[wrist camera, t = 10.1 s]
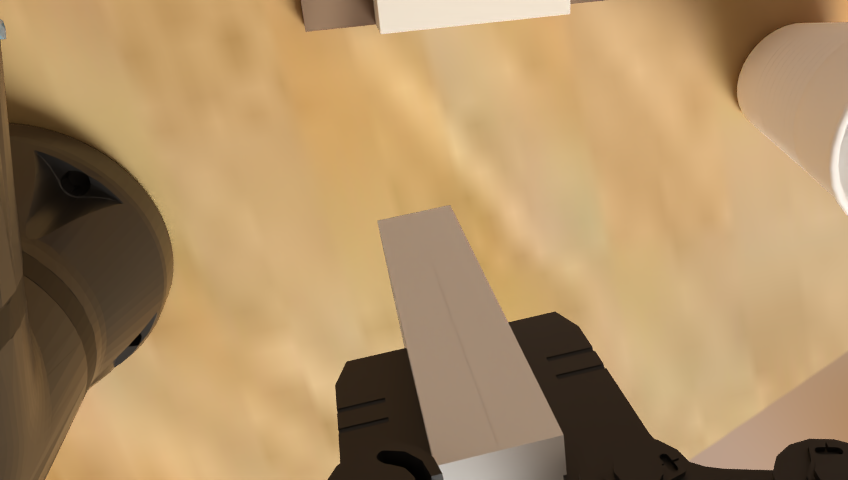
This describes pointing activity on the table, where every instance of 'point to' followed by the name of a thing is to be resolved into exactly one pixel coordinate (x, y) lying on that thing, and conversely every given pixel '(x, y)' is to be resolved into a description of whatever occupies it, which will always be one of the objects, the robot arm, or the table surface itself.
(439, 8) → the cream flat block
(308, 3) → the board
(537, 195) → the table surface
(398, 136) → the table surface
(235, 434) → the table surface
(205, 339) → the table surface
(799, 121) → the cup
